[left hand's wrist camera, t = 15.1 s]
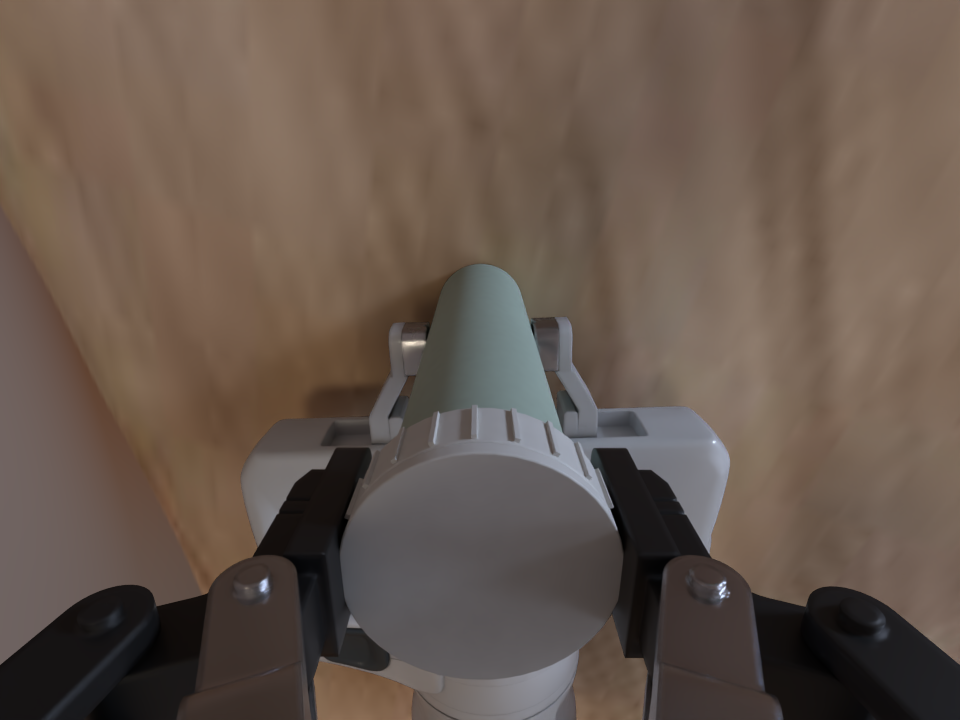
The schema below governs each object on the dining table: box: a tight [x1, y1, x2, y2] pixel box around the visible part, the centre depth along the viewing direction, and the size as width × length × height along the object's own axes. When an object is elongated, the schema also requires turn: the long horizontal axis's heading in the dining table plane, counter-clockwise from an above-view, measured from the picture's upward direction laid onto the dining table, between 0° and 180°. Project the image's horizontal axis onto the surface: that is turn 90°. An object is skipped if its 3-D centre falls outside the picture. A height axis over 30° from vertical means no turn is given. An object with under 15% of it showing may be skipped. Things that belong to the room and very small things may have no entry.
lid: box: [339, 405, 624, 680], centre depth 10 cm, size 5×5×2 cm
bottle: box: [401, 264, 563, 433], centre depth 18 cm, size 4×4×18 cm
